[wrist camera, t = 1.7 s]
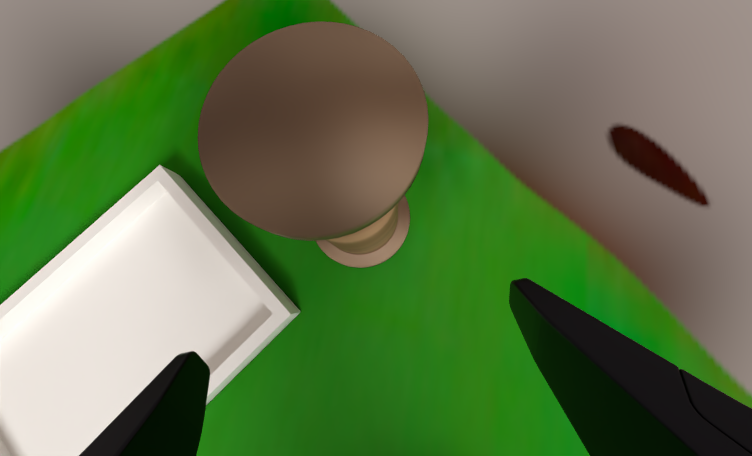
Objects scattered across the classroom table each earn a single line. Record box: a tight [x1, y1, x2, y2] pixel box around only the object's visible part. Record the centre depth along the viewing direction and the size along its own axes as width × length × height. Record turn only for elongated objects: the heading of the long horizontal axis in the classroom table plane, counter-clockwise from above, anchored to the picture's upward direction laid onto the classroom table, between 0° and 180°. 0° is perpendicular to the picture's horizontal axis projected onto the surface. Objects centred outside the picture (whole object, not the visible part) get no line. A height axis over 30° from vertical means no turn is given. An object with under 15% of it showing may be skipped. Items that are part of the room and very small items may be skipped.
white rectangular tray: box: [0, 165, 301, 456], centre depth 20 cm, size 20×14×2 cm
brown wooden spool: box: [198, 22, 428, 268], centre depth 15 cm, size 7×7×13 cm
